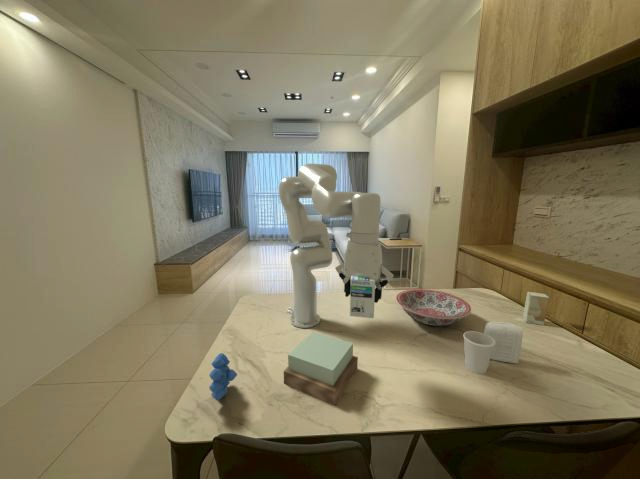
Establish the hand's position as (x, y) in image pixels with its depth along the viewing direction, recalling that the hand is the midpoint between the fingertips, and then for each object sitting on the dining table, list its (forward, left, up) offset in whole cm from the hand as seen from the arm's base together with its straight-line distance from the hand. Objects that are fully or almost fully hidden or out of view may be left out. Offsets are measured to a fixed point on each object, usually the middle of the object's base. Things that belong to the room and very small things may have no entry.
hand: (362, 297), depth 75 cm
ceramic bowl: (+15, +46, -24) cm, 53 cm away
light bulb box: (0, 0, -4) cm, 4 cm away
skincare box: (+53, +64, -24) cm, 86 cm away
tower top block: (-9, -7, -20) cm, 23 cm away
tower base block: (-9, -8, -24) cm, 27 cm away
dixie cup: (+31, +19, -24) cm, 43 cm away
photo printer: (+38, +28, -24) cm, 52 cm away
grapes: (-28, -27, -24) cm, 45 cm away
